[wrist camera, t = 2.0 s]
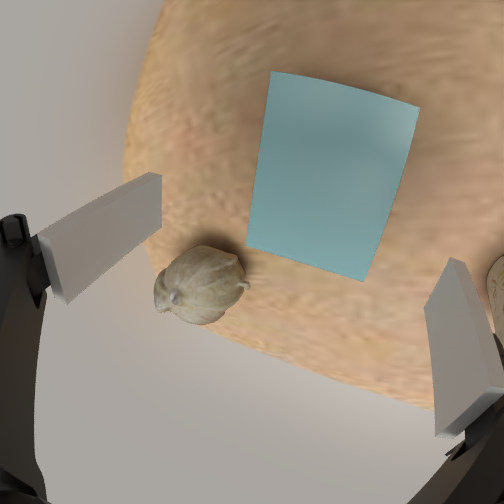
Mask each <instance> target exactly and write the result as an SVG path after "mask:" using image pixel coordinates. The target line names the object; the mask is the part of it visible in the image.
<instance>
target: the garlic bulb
mask: <svg viewBox="0 0 504 504" xmlns="http://www.w3.org/2000/svg"><path fill="white" fill-rule="evenodd" d="M244 275H245V272H244V270H243V269H242V266H241V265H240V263H239V261H238V257H237V256H236V255H234V254H230V253H226V252H224V251H222V250H218V249H215V248H213V247H209V246H205V245H199V246H196V247H193V248H191V249H189V250H188V251H186V252H185V253H183V254H182V255H180V256H179V257H177V258H176V259H175V260H173V261H172V263H171V264H170V265H169V266H168V267H167V268H166V269H164V270H162V271H161V272H160V273H159V275H158V277H157V279H156V282H155V286H154V302H155V307H156V309H157V311H158V312H160V313H162V312H166V311H170V312H173V313H174V314H175V315H176V316H178V317H179V318H180V319H182V320H183V321H185V322H188V323H191V324H197V325H206V324H209V323H214V322H215V321H217V320H218V319H219V318H220V317H222V316H223V315H224V313H225V311H226V310H227V309H228V308H229V307H231V306H233V305H234V304H235V303H236V302H237V301H238V300H239V298H240V297H241V295H242V294H243V292H244V288H245V289H247V290H249V289H250V284H249V282H248V281H244V280H243V277H244Z"/></svg>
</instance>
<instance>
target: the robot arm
mask: <svg viewBox="0 0 504 504" xmlns="http://www.w3.org/2000/svg"><path fill="white" fill-rule="evenodd" d="M161 196H162V175H159V174H155V173H150V172H148V173H146V174H144V175H142V176H140V177H138V178H136V179H134V180H132V181H130V182H128V183H126V184H124V185H122V186H120V187H118V188H116V189H114V190H112V191H110V192H108V193H107V194H105V195H103V196H101V197H99V198H97V199H95V200H93V201H92V202H90V203H88V204H86V205H84V206H83V207H81V208H79V209H77V210H75V211H74V212H72V213H70V214H69V215H67V216H65V217H63V218H62V219H60V220H59V221H57V222H55V223H54V224H52V225H50V226H49V227H47V228H45V229H44V230H42V231H40V232H39V233H37V234H36V235H34V236H33V237H30V233H29V228H28V224H27V219H26V216H25V215H23V214H13V215H9V216H6V217H4V218H2V219H1V220H0V504H51V503H49V502H47V496H46V489H45V483H44V478H43V476H42V472H41V471H40V469H39V467H38V465H37V462H36V459H35V449H34V400H35V381H36V369H37V359H38V350H39V342H40V335H41V328H42V322H43V316H44V310H45V305H46V300H47V293H46V291H45V289H46V288H47V287H49V286H50V285H51V288H52V291H53V294H54V297H55V298H56V299H58V300H60V301H61V302H63V303H64V304H66V305H67V304H69V303H70V302H71V301H72V300H73V299H74V298H75V297H77V296H78V295H79V294H80V293H81V292H82V291H84V290H85V289H86V288H87V287H88V286H89V285H91V284H92V283H93V282H94V281H95V280H96V279H98V278H99V277H100V276H101V275H102V274H104V273H105V272H106V271H107V270H108V269H109V268H111V267H112V266H113V265H114V264H116V263H117V262H118V261H119V260H120V259H122V258H123V257H124V256H125V255H127V254H128V253H129V252H130V251H132V250H133V249H134V248H135V247H137V246H138V245H139V244H140V243H142V242H143V241H144V240H146V239H147V238H148V237H149V236H151V235H152V234H153V233H155V232H156V231H157V230H159V229H160V228H161V227H162V224H161ZM424 311H425V317H426V324H427V331H428V338H429V346H430V354H431V364H432V375H433V388H434V407H435V437H440V438H448V439H454V438H455V437H456V436H457V435H459V434H460V433H461V432H462V431H463V430H465V440H463V441H462V442H461V443H460V444H458V445H457V446H455V447H454V448H453V449H451V450H450V451H449V452H447V453H446V454H445V455H446V456H448V455H450V454H451V453H452V454H451V455H450V456H449V457H448V459H447V460H446V461H445V462H444V464H443V465H442V466H441V467H440V469H439V470H438V471H437V472H436V473H435V474H434V475H433V477H432V478H431V479H430V480H429V481H428V482H427V483H426V484H425V485H424V487H423V488H422V489H421V490H420V491H419V492H418V493H417V494H416V495H415V496H414V497H413V498H412V499H411V500H410V501H409V502H408V503H407V504H504V348H503V345H502V343H501V342H500V340H499V339H498V337H497V336H496V334H494V333H492V330H491V327H490V324H489V322H488V319H487V316H486V313H485V311H484V308H483V305H482V303H481V300H480V298H479V295H478V293H477V290H476V288H475V285H474V283H473V281H472V278H471V276H470V274H469V272H468V269H467V267H466V265H465V263H464V262H462V261H459V260H456V259H454V258H451V257H450V259H449V261H448V263H447V265H446V267H445V269H444V271H443V273H442V275H441V277H440V279H439V281H438V283H437V284H436V286H435V288H434V290H433V292H432V294H431V296H430V297H429V299H428V301H427V303H426V305H425V306H424Z"/></svg>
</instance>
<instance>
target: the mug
mask: <svg viewBox="0 0 504 504" xmlns="http://www.w3.org/2000/svg"><path fill="white" fill-rule="evenodd" d="M487 292H488V296H489V301H490V306H491V310H492V316H493V321H494V327H495V333H496V336H497V337H498V339H499V340H500V342H501V343H502V345H503V348H504V255H503V256H502V257H500V258H499V259H498V260H497V261H496V262H495V263H494V265H493V266H492V268H491V269H490V271H489V274H488V277H487Z"/></svg>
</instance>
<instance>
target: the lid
mask: <svg viewBox="0 0 504 504" xmlns="http://www.w3.org/2000/svg"><path fill="white" fill-rule="evenodd" d="M419 110H420V108H419V107H416V106H413V105H411V104H408V103H405V102H402V101H399V100H396V99H393V98H389V97H386V96H383V95H380V94H376V93H373V92H369V91H366V90H362V89H358V88H355V87H351V86H347V85H343V84H338V83H334V82H330V81H325V80H321V79H316V78H311V77H306V76H300V75H295V74H289V73H283V72H276V71H271V76H270V83H269V89H268V96H267V102H266V109H265V115H264V122H263V129H262V135H261V142H260V149H259V156H258V162H257V169H256V176H255V183H254V189H253V196H252V203H251V210H250V217H249V224H248V231H247V238H246V245H245V246H249V247H252V248H255V249H258V250H262V251H265V252H268V253H271V254H275V255H278V256H281V257H284V258H288V259H291V260H294V261H297V262H301V263H304V264H307V265H310V266H314V267H317V268H320V269H323V270H327V271H330V272H333V273H336V274H340V275H343V276H346V277H349V278H352V279H356V280H359V281H362V282H364V280H365V277H366V275H367V272H368V270H369V267H370V265H371V262H372V260H373V257H374V255H375V252H376V249H377V247H378V244H379V242H380V239H381V236H382V233H383V231H384V228H385V225H386V222H387V220H388V217H389V214H390V211H391V208H392V205H393V202H394V199H395V196H396V193H397V190H398V187H399V183H400V180H401V177H402V174H403V170H404V167H405V163H406V160H407V157H408V153H409V149H410V146H411V142H412V138H413V134H414V131H415V127H416V123H417V118H418V114H419Z"/></svg>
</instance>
